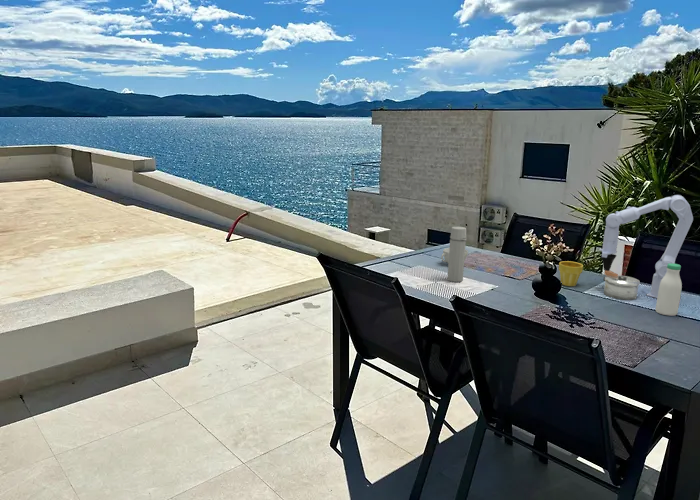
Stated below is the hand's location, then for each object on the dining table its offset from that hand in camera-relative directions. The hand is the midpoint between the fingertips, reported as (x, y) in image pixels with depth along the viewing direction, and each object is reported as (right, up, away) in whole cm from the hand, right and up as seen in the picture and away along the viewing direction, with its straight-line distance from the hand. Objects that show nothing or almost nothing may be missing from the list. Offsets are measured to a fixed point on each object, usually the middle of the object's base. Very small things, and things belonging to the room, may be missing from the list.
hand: (606, 270), depth 245 cm
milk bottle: (+11, -16, -27) cm, 34 cm away
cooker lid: (+3, -4, -5) cm, 7 cm away
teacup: (-62, +1, +36) cm, 72 cm away
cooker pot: (+2, -10, -4) cm, 11 cm away
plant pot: (-14, -7, +8) cm, 17 cm away
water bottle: (-66, -5, +10) cm, 67 cm away
